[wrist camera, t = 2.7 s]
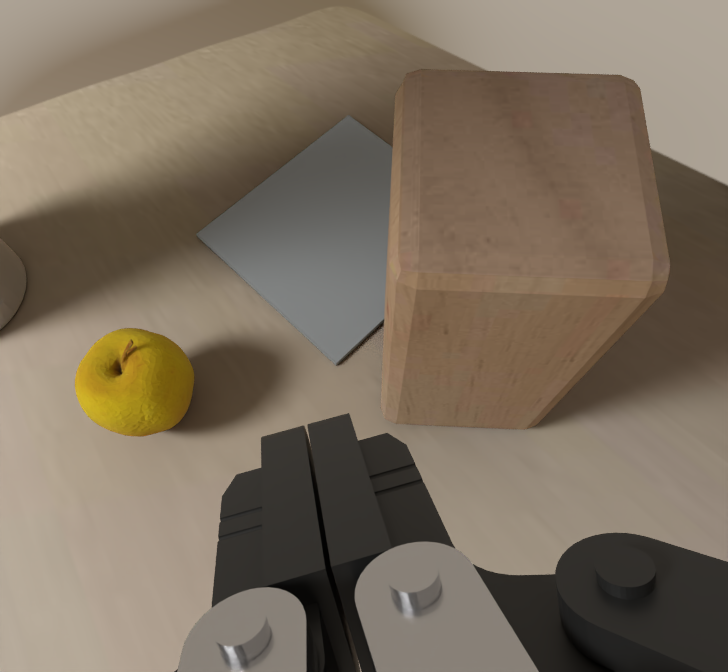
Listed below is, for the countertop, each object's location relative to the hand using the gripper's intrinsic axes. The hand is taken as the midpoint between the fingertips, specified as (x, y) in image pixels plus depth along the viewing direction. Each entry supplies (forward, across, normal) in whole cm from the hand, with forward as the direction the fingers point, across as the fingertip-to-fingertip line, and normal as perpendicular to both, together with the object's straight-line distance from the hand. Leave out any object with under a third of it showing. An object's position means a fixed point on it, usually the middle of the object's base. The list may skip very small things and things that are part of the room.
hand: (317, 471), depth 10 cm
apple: (+30, +10, +10) cm, 33 cm away
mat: (+36, -5, +3) cm, 37 cm away
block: (+28, -10, +12) cm, 32 cm away
